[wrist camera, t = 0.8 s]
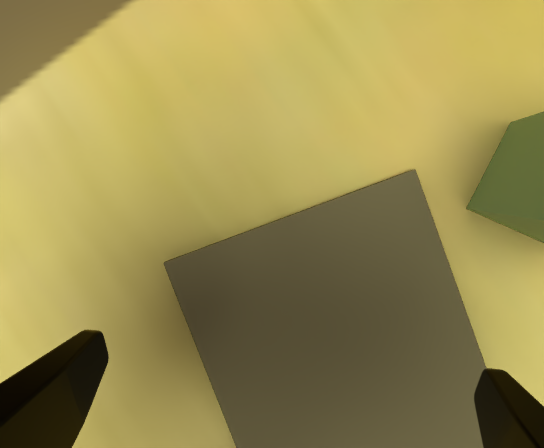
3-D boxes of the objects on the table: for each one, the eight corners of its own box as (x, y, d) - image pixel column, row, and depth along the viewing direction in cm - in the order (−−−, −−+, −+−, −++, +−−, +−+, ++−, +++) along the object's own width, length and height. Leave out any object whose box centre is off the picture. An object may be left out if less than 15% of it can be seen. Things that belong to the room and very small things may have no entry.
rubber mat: (507, 435, 23) (513, 442, 22) (262, 502, 25) (261, 510, 24) (412, 169, 22) (415, 169, 21) (167, 261, 24) (163, 263, 24)
